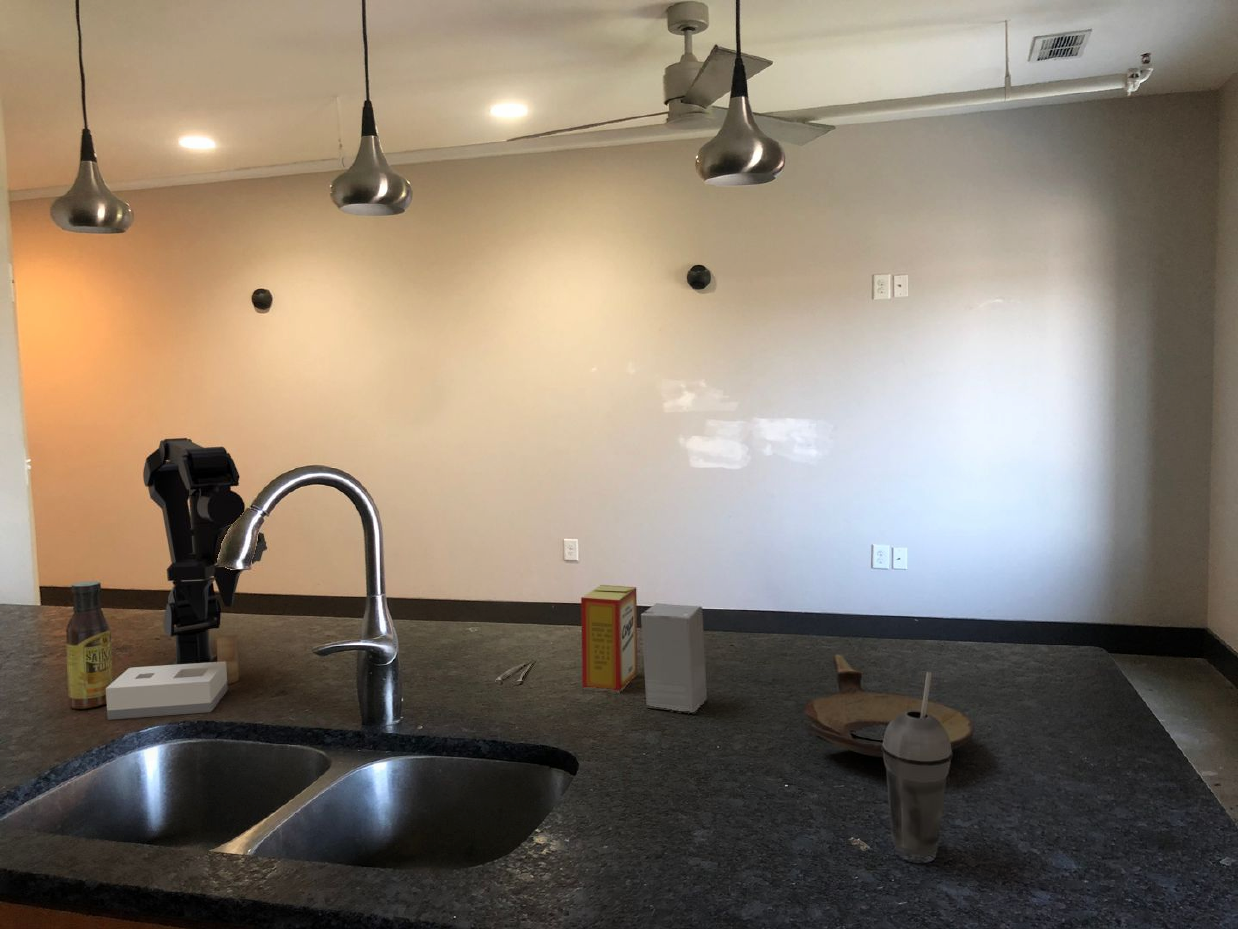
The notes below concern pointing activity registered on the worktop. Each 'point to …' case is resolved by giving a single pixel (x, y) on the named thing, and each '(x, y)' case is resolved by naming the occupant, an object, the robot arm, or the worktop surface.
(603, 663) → the baking soda box
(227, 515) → the robot arm
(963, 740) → the oil lamp
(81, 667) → the sauce bottle
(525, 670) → the tweezers
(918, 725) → the beverage cup
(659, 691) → the skincare box
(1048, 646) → the worktop surface
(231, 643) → the oak peg
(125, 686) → the hole block
